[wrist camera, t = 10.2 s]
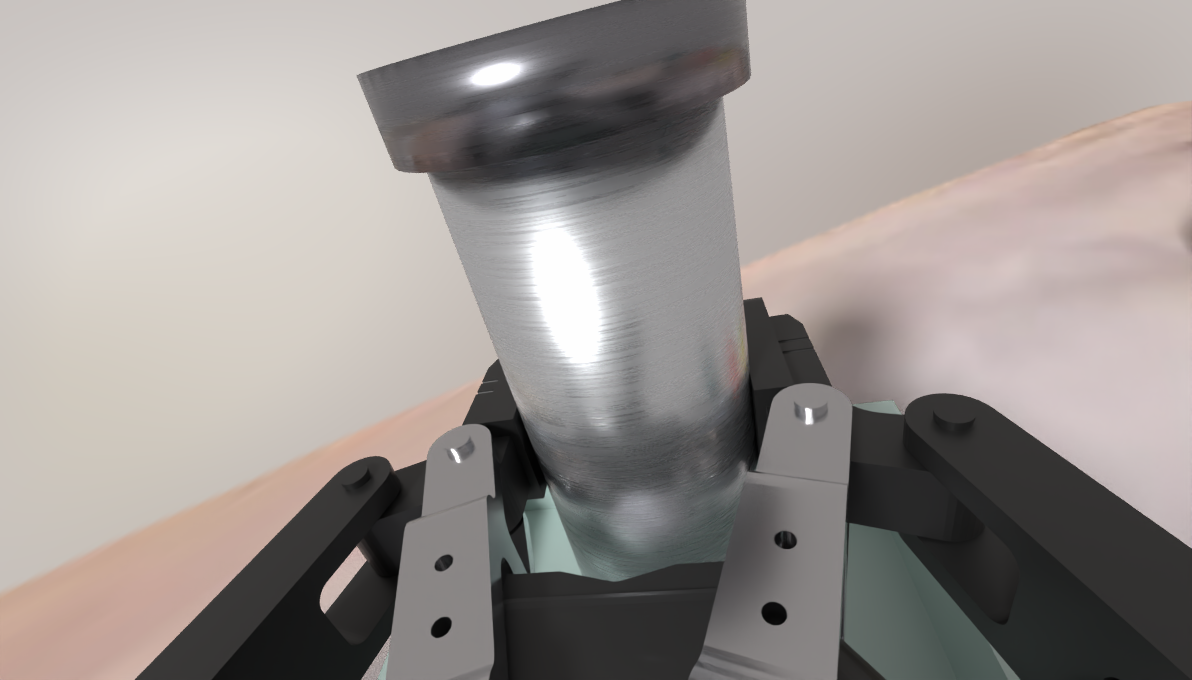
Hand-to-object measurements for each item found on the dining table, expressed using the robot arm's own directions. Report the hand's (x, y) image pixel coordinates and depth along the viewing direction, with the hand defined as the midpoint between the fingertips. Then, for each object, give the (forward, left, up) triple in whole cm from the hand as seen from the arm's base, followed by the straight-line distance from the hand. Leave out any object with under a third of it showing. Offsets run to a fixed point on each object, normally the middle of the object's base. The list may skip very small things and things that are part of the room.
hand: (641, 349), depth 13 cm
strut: (0, -3, -8) cm, 8 cm away
